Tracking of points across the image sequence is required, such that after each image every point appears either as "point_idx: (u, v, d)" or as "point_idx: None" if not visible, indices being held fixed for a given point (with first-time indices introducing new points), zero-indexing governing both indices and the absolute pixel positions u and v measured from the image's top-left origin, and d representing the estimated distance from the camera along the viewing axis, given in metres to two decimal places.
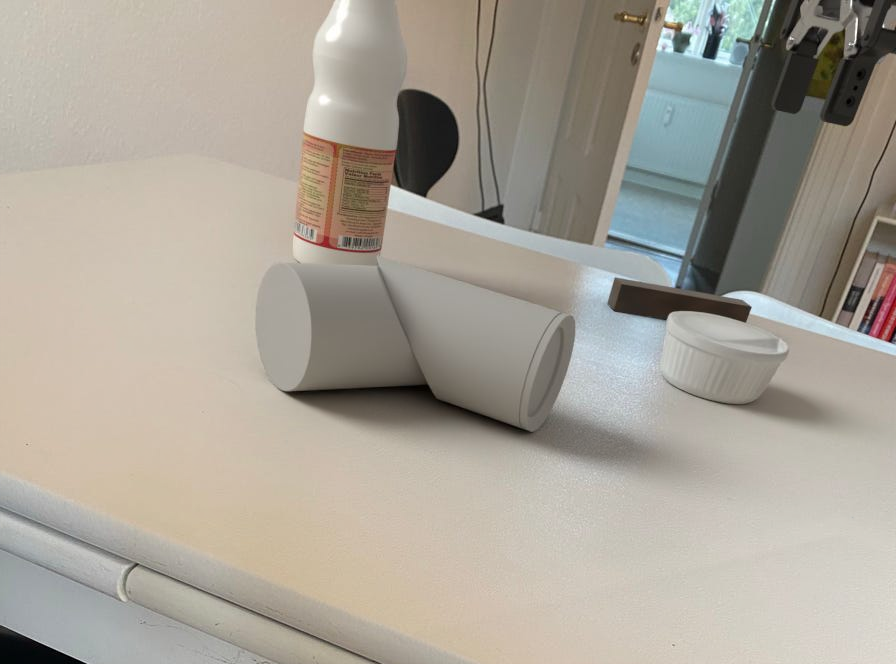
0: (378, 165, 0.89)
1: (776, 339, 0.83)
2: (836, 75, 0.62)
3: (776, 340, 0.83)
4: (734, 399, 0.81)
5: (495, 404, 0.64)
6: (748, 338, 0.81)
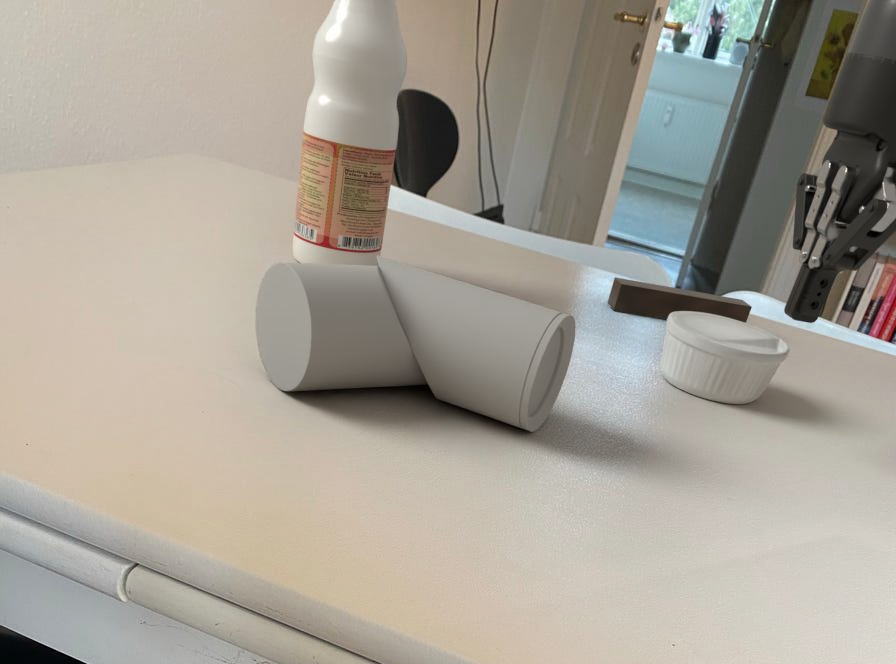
0: (378, 165, 0.89)
1: (776, 339, 0.83)
2: (802, 281, 0.69)
3: (777, 340, 0.83)
4: (734, 399, 0.81)
5: (495, 404, 0.64)
6: (748, 338, 0.81)
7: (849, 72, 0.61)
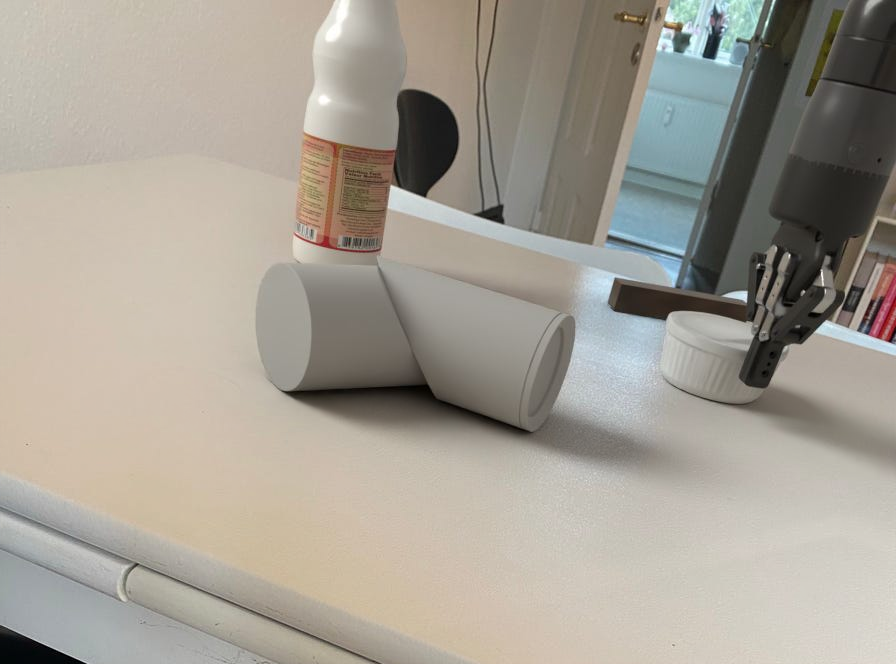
0: (378, 165, 0.89)
1: None
2: (753, 352, 0.75)
3: None
4: (734, 399, 0.81)
5: (495, 404, 0.64)
6: (748, 338, 0.81)
7: (789, 171, 0.67)
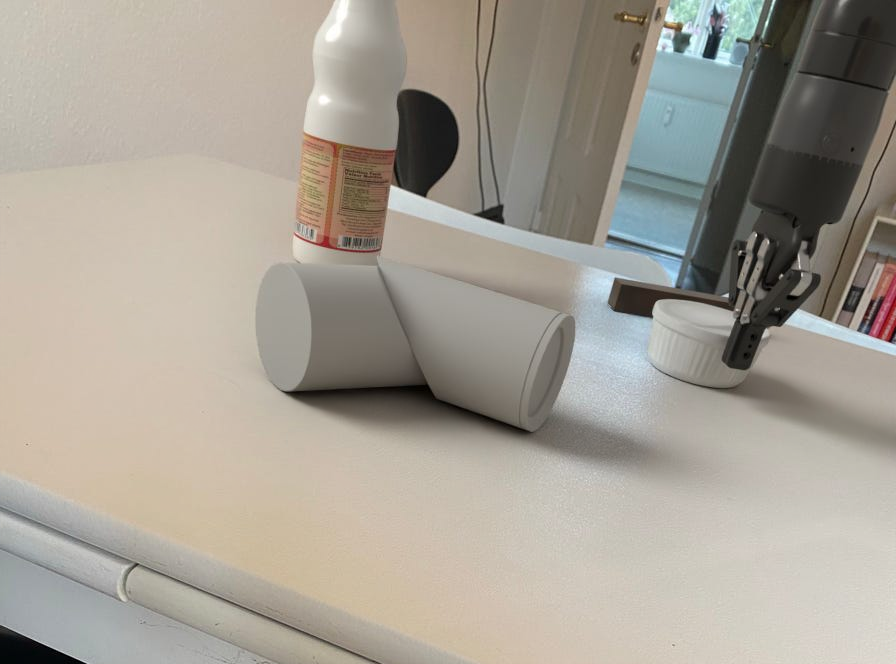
0: (378, 165, 0.89)
1: None
2: (735, 335, 0.78)
3: None
4: (717, 383, 0.84)
5: (495, 404, 0.64)
6: (731, 324, 0.84)
7: (768, 160, 0.71)
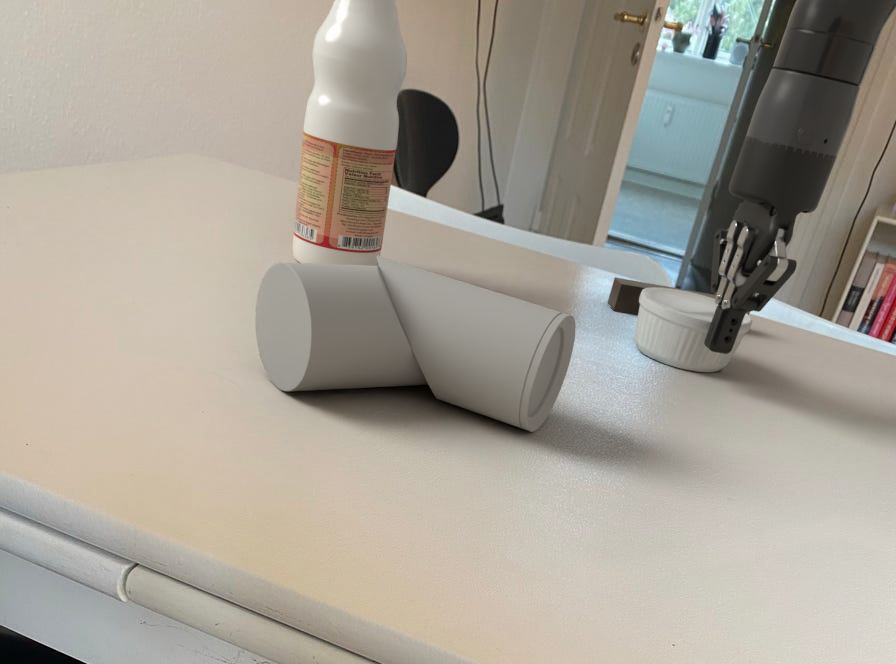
0: (378, 165, 0.89)
1: None
2: (717, 319, 0.82)
3: None
4: (701, 367, 0.88)
5: (495, 404, 0.64)
6: (714, 311, 0.88)
7: (746, 151, 0.74)
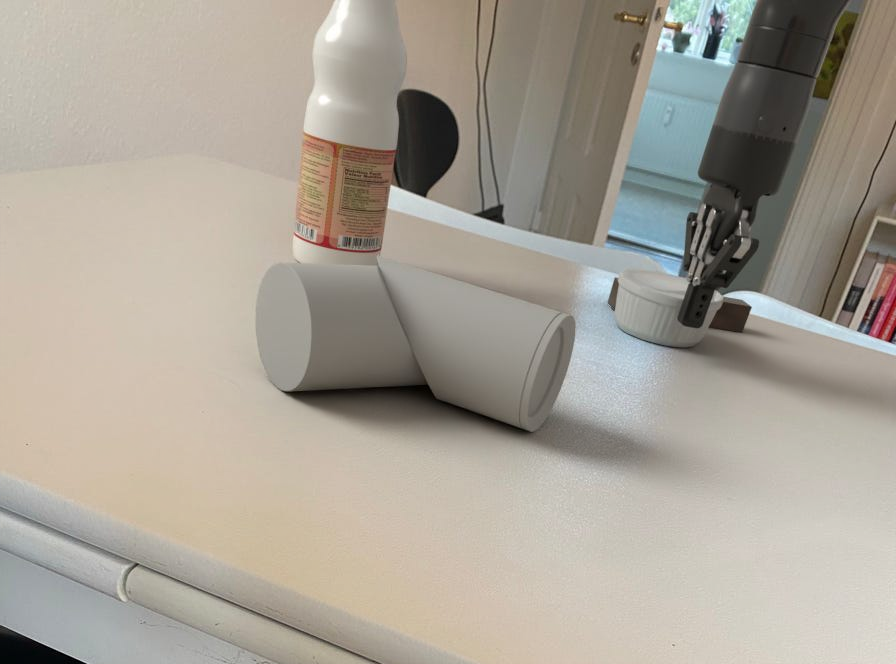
0: (378, 165, 0.89)
1: None
2: (688, 296, 0.88)
3: (714, 293, 0.96)
4: (675, 342, 0.94)
5: (495, 404, 0.64)
6: None
7: (713, 139, 0.81)
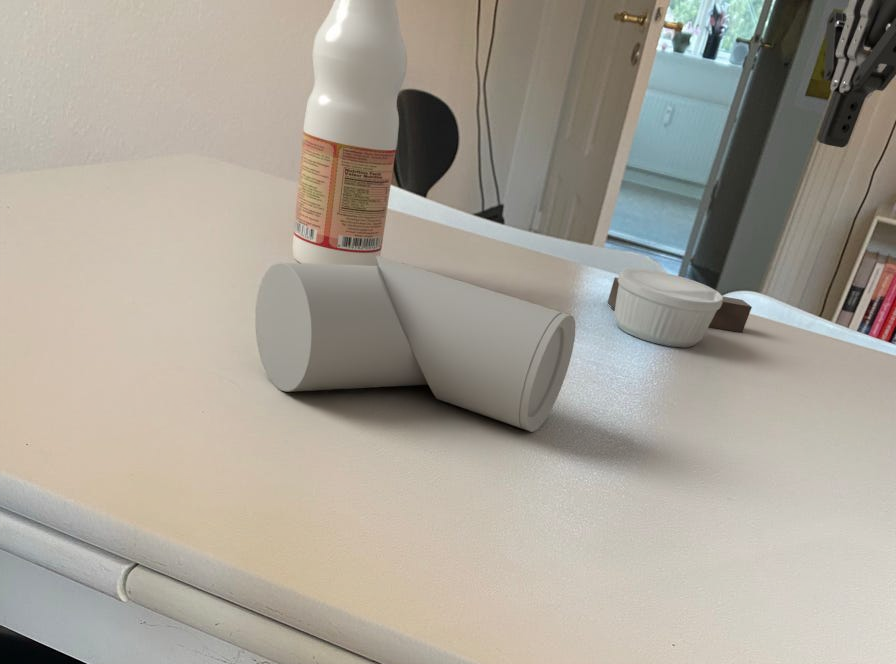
0: (378, 165, 0.89)
1: (713, 292, 0.96)
2: (833, 107, 0.76)
3: (714, 293, 0.96)
4: (675, 342, 0.94)
5: (495, 404, 0.64)
6: (688, 290, 0.94)
7: None
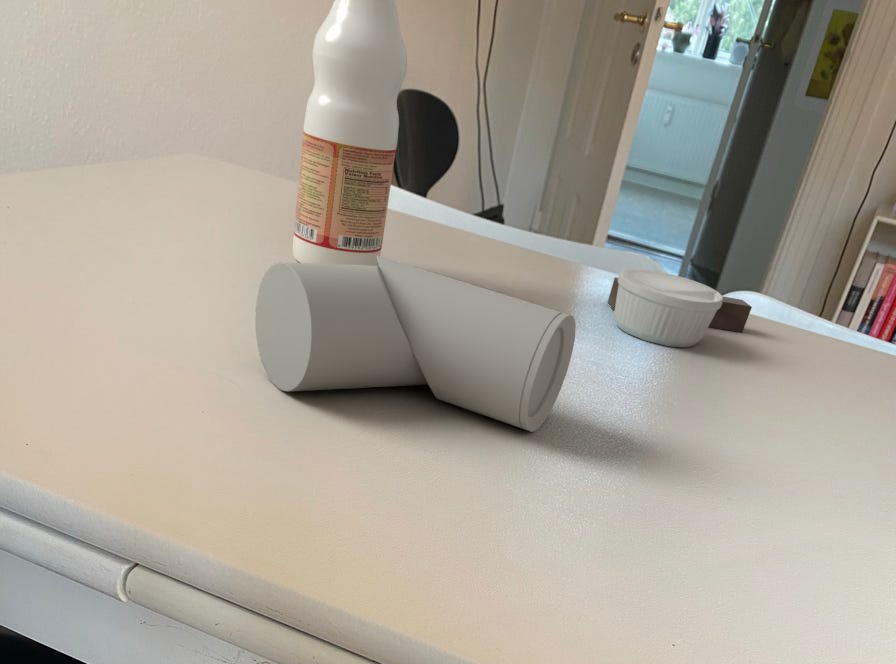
0: (378, 165, 0.89)
1: (713, 292, 0.96)
2: None
3: (714, 293, 0.96)
4: (675, 342, 0.94)
5: (495, 404, 0.64)
6: (687, 290, 0.94)
7: None
